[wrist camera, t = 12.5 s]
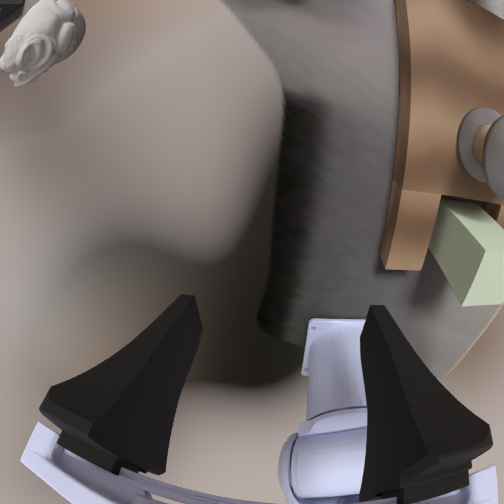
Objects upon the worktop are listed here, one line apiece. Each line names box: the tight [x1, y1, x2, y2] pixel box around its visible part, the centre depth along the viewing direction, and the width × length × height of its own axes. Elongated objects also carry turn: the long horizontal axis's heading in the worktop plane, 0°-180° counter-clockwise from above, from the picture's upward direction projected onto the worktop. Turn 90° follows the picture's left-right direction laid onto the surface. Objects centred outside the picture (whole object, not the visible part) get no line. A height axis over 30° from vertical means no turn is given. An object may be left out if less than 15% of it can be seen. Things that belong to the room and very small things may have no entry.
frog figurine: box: [0, 0, 86, 87], centre depth 10 cm, size 6×7×7 cm
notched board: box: [379, 0, 504, 270], centre depth 13 cm, size 20×12×2 cm, turn 3°
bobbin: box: [457, 107, 504, 200], centre depth 10 cm, size 5×5×4 cm
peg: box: [428, 199, 504, 306], centre depth 14 cm, size 4×4×7 cm
